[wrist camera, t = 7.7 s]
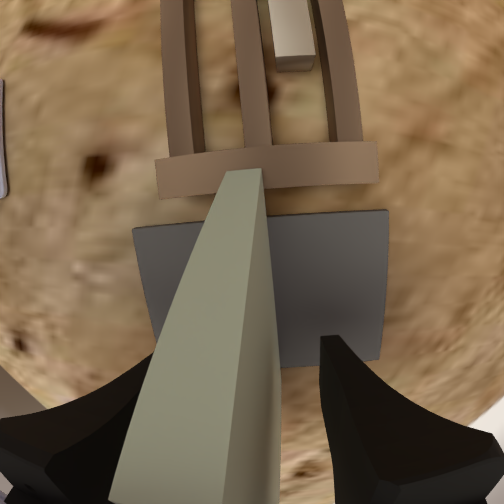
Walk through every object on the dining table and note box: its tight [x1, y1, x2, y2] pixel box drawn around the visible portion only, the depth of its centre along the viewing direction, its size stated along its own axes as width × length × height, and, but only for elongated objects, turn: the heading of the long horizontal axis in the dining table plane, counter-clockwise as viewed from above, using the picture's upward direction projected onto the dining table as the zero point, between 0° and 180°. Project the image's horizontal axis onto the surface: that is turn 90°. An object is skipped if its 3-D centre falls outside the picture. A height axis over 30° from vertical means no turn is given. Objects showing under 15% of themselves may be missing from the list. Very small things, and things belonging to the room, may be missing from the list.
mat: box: [132, 209, 389, 368], centre depth 15 cm, size 12×8×1 cm, turn 95°
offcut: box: [268, 0, 316, 72], centre depth 11 cm, size 2×5×2 cm, turn 5°
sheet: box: [108, 168, 281, 504], centre depth 10 cm, size 1×12×10 cm, turn 5°
